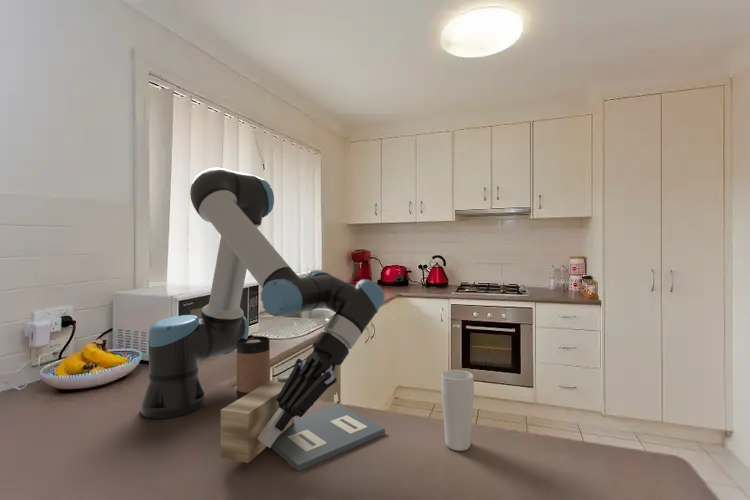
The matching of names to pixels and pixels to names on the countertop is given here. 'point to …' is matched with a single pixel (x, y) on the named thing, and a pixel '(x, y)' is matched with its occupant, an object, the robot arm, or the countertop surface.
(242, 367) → the travel mug
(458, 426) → the drinking glass
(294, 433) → the label board
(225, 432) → the tan wooden block
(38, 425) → the countertop surface
